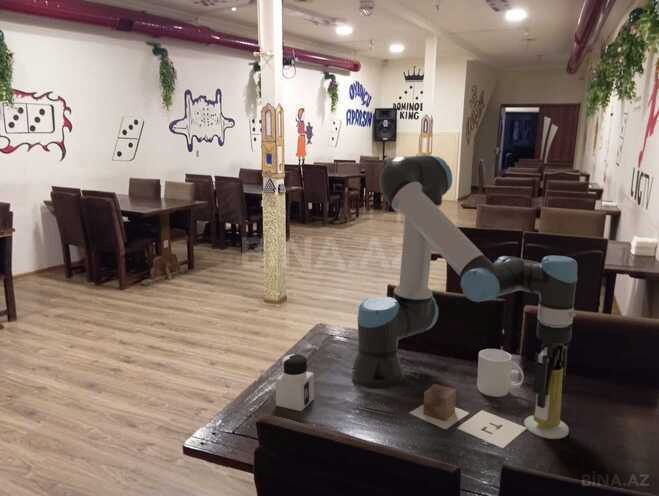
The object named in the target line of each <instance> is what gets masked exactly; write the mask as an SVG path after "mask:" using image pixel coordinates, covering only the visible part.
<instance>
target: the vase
mask: <svg viewBox="0 0 659 496" xmlns="http://www.w3.org/2000/svg"><path fill="white" fill-rule="evenodd" d="M548 362H549V361H548ZM549 363H550V362H549ZM563 380H564V379H563V367H562V365H559V367H557V368H554V367H553V370H552V376H551V381H550V386H549V391H548V394H550V398H549V409H548V420H547V421H545V420H543V419H540V418H537V417H535V411H536V403H535V406H534V412H533V415H534V416H533V419H534V420H535V422H537V423H538V424H540V425H543V426H547V427H556V426H558V425H559V424H560V421H561V411H562V395H563V394H562V393H563V391H562V390H563V385H562V381H563ZM535 394H536V393H535ZM536 399H537V394H536V395H535V400H536Z"/></svg>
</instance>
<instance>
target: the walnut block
mask: <svg viewBox="0 0 659 496" xmlns="http://www.w3.org/2000/svg"><path fill="white" fill-rule="evenodd" d="M456 394H457V389H454V388H450V387H447V386H443V385H440V384H437V383H433V384H432V385H431V386H429V388H427V390H425V391H424V392H423V404H424V412H423V414H424V415H427V416H430V417H433V418H436V419H439V420H443V421H446V420H447V419H448V418H449V417H450V416H451V415H452V414H453V413H454V412H455V407H456V398H457V396H456Z"/></svg>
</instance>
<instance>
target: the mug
mask: <svg viewBox="0 0 659 496" xmlns="http://www.w3.org/2000/svg"><path fill="white" fill-rule="evenodd" d="M477 363H478V365H477V366H478V367H477V379H476V380H477V383H476V385H477V389H478V391H479V392H480V393H481V394H483V395H485V396H488V397H489V396H490V397H494V398H495V397H496V398H498V397H504V396H507V395H508V394H509V393H510V390H516V389H518V388H519V387H521V385H522V384H523V381H524V377H525V376H524V375H525V374H524V372H523V369H522V367H521V366H520V365H518V364H517V363H516V362H514V361H512V354H510V353H509V352H507V351H505V350H501V349H497V348H486V349H482V350H480V351H479V352H478V362H477ZM512 369H514V370H517V372H519V373H520V375H521V378H520V379H521V380H520V381H519V382H518V383H513V382H511V371H512Z"/></svg>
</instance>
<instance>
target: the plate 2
mask: <svg viewBox="0 0 659 496" xmlns="http://www.w3.org/2000/svg"><path fill="white" fill-rule="evenodd" d="M456 429H458V430H461V431H462V432H465V433H467V434H469V435H472V436H474V437H476V438H479V439H481V440H483V441H485V442H488V443H490V444H492V445H494V446H497V447H499V448H501V449H504V448H505V447H506V446H508V445H509V444H510V443H511V442H512V441H513V440H514V439H516V437H518V436H519V435H520V434H521V433H524V432H525V431H527V428H526V426H523V425H520V424H518V423H515V422H513V421H511V420H508V419H505V418H503V417H501V416H499V415H495V414H493V413H490V412H488V411H486V410H480V411H479V412H477V413H475V415H473V416H471V417H470V418H469V419H467V420H466V421H465V422H463V423H462V424H460V425H459V426H458V427H456Z"/></svg>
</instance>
